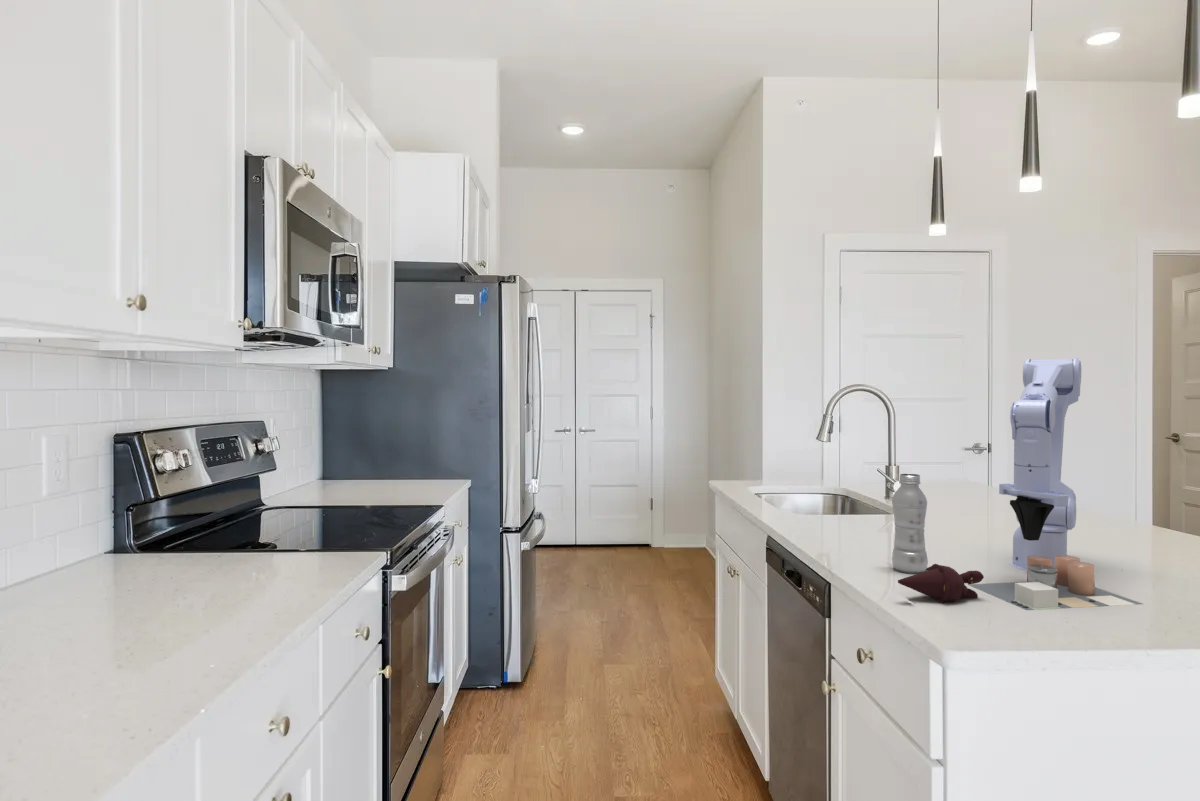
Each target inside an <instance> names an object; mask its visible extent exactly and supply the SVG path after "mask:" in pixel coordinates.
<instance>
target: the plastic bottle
mask: <svg viewBox="0 0 1200 801" xmlns="http://www.w3.org/2000/svg"><path fill="white" fill-rule="evenodd" d="M898 482H899V484H900V486H899V487H898V488H897V490H895V492H894V494H893V495H892V498H891V505H892V511H893V512H892V513H893V517H894V519H893V520H894V540H893V541H894V543H893V549H892V556H891V562H892V566H893V568H894V570H895V571H897V572H901V573H902V574H903V573H905V574H910V575H911V574H913V575H916V574H919V573H923V572H926V569H927V568H928V563H929V559H928V554H927V551H926V550H927V549H926V542H925V524H926V515H927V509H928V500H927V496H926V495H925V493H924V492H923V491H922V488H920V486H919V485H921V475H920V474H917V473H900V474H899V481H898Z"/></svg>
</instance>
